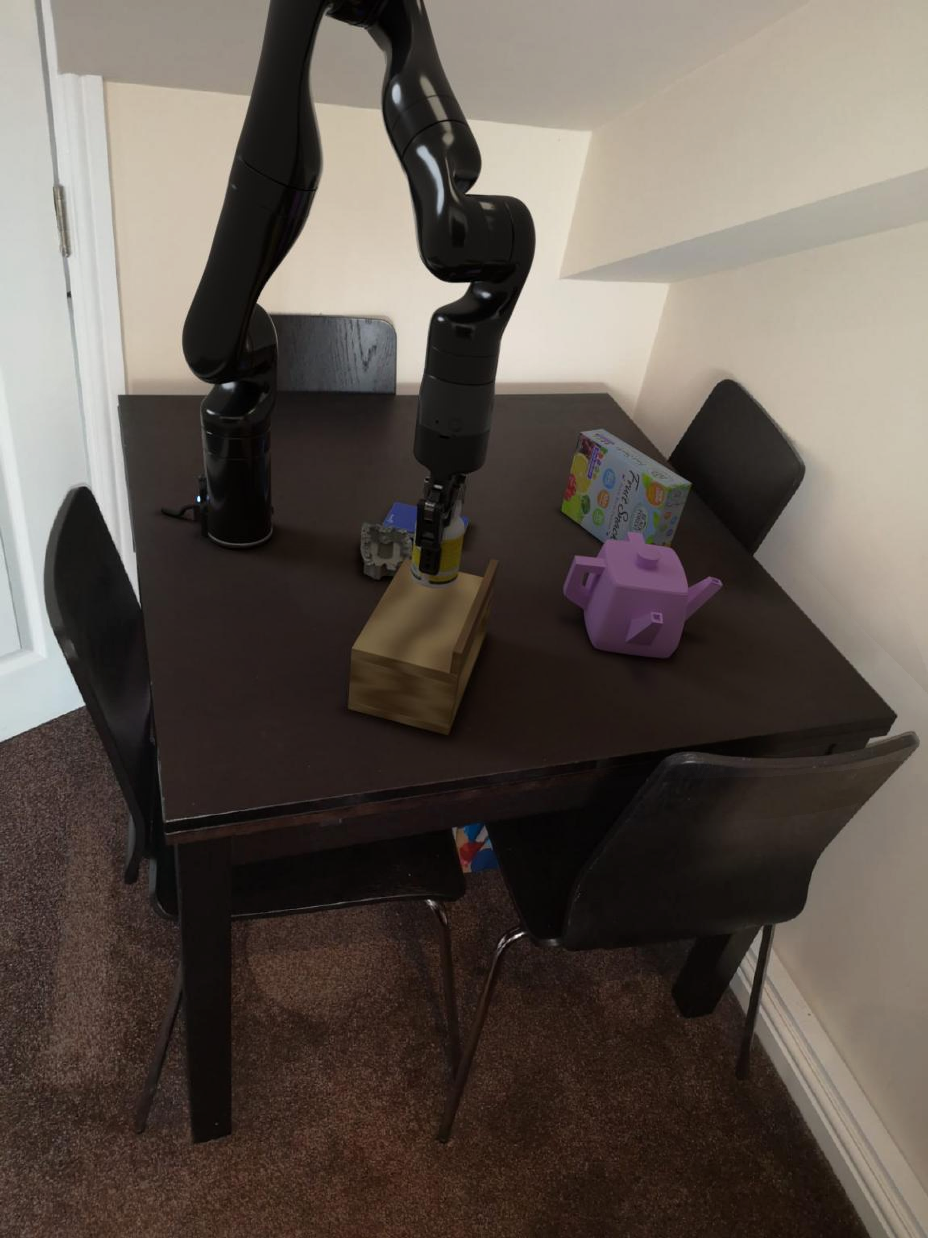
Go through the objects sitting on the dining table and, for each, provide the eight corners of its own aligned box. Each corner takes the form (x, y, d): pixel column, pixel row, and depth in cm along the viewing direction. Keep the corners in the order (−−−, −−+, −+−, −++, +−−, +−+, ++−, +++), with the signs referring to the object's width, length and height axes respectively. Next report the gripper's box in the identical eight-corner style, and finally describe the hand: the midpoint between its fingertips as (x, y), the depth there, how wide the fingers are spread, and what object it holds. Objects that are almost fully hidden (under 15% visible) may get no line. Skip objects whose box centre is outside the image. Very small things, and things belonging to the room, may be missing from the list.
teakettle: (615, 580, 122) (635, 509, 115) (708, 636, 113) (737, 563, 106) (542, 616, 112) (560, 541, 104) (639, 682, 103) (666, 604, 95)
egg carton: (411, 582, 114) (414, 558, 112) (359, 579, 113) (360, 555, 111) (409, 543, 123) (411, 520, 120) (360, 540, 122) (361, 517, 119)
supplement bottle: (464, 574, 92) (476, 499, 87) (444, 596, 88) (455, 518, 82) (423, 559, 94) (432, 484, 88) (401, 579, 90) (409, 502, 84)
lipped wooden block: (347, 709, 91) (353, 625, 84) (399, 614, 108) (407, 538, 101) (448, 735, 90) (461, 653, 83) (485, 636, 106) (499, 560, 99)
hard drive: (382, 524, 123) (459, 540, 123) (395, 500, 130) (469, 516, 129) (381, 532, 124) (458, 549, 123) (394, 509, 131) (468, 525, 130)
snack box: (666, 567, 127) (694, 482, 119) (640, 574, 125) (667, 487, 116) (583, 506, 141) (602, 425, 132) (558, 511, 138) (577, 429, 129)
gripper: (436, 386, 86) (421, 523, 96) (397, 434, 74) (384, 584, 84) (504, 400, 85) (481, 537, 95) (474, 451, 73) (452, 601, 83)
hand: (435, 558), depth 89 cm, fingers closed on supplement bottle, 5 cm apart
